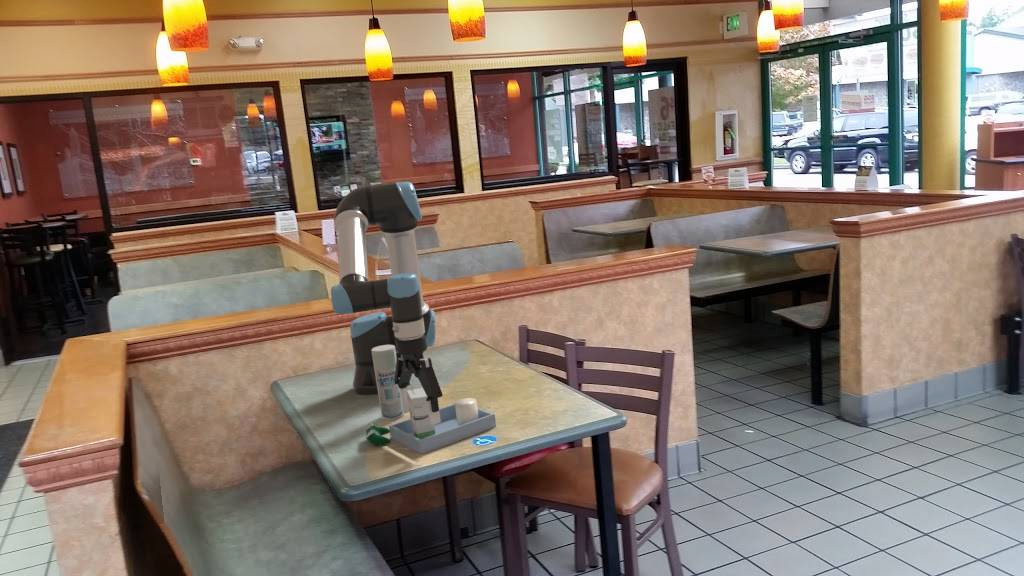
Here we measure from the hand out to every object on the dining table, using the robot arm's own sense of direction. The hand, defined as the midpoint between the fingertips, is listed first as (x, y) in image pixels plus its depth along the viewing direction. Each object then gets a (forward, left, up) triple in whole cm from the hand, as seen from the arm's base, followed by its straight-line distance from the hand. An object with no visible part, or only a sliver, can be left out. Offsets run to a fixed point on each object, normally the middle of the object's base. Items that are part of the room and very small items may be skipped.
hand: (421, 417), depth 192 cm
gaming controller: (-9, -8, -6) cm, 14 cm away
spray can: (-23, +3, -6) cm, 24 cm away
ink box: (0, 0, -5) cm, 5 cm away
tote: (+1, +5, -6) cm, 8 cm away
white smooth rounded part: (+4, +11, -5) cm, 13 cm away
